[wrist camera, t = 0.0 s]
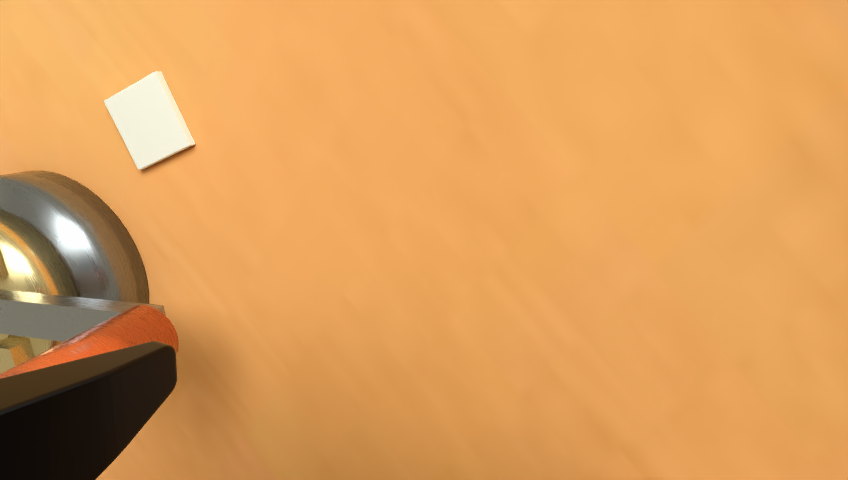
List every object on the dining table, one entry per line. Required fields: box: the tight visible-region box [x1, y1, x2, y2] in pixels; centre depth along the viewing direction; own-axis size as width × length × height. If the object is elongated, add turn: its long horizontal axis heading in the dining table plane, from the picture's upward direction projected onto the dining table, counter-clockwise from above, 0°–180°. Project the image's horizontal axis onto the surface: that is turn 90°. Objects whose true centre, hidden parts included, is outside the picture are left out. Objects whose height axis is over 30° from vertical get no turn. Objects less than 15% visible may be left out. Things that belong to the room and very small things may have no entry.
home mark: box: [104, 71, 195, 170], centre depth 25 cm, size 4×4×1 cm
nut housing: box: [0, 171, 149, 304], centre depth 29 cm, size 13×13×3 cm
